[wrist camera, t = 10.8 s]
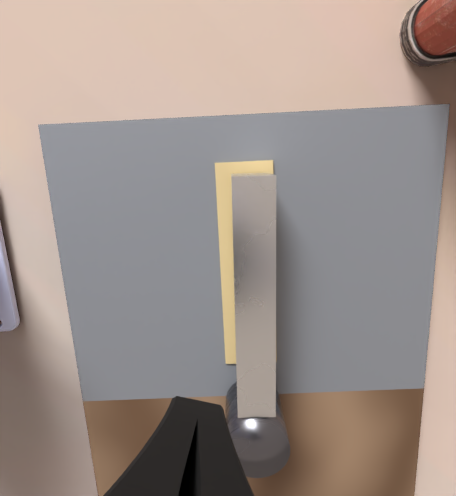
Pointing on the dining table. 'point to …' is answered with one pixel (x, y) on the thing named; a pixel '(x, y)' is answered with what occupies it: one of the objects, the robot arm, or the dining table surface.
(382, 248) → the door plate
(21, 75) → the dining table surface
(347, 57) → the dining table surface
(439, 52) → the red tin can
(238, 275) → the lock bar
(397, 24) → the dining table surface
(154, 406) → the plate
